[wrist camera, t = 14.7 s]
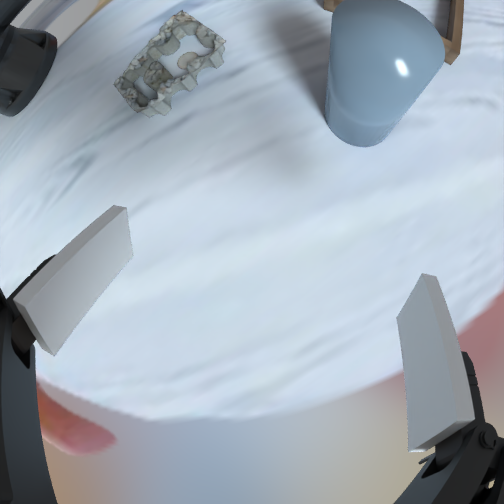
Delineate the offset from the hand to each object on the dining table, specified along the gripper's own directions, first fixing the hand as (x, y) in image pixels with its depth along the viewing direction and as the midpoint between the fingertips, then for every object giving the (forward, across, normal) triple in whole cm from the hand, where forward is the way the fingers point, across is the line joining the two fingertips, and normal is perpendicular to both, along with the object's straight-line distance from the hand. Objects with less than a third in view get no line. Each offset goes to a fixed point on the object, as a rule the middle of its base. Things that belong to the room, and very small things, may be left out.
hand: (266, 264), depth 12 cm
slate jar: (+16, +4, +5) cm, 18 cm away
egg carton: (+19, -13, +6) cm, 24 cm away
